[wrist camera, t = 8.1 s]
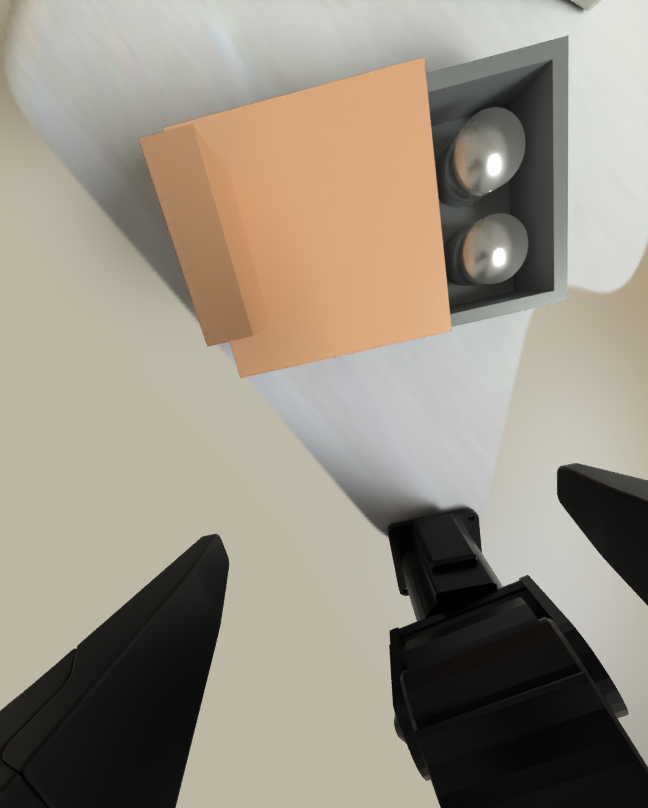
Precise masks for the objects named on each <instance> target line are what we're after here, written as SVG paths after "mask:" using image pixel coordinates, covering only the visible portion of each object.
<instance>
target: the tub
mask: <svg viewBox="0 0 648 808" xmlns="http://www.w3.org/2000/svg"><path fill="white" fill-rule="evenodd" d="M426 81H427V91H428V101H429V110H430V120H431V130H432V140H433V150H434V160H435V163H436V161H437V159H438V157H439V155H440V154H441V153H442V151H443V150H444V149H445V148H446V147H447V145H448V144H449V143H450V142H451V141H452V140H453V138H454V137H455V136H456V135H457V134H458V132H459V131H460V130H461V129H462V128H463V126H464V125H465V124H466V123H467V122H468V121H469V119H470V118H472V117H473V116H474V115H475V114H477V113H478V112H480V111H482V110H484V109H487V108H492V107H499V108H504V109H507V110H509V111H510V112H512V113H513V114H514V115H515V116H516V117H517V118H518V119H519V121H520V122H521V124H522V127H523V130H524V133H525V152H524V156H523V159H522V162H521V164H520V166H519V168H518V170H517V171H516V173H515V174H514V175H513V177H512V178H511V179H510V180H509V181H507V182H506V183H505V184H503V185H502V186H500V187H499V188H497V189H495V190H494V191H492V192H490V193H489V194H487V195H486V196H484V197H482V198H481V199H479V200H478V201H476V202H474V203H473V204H471V205H469V206H466V207H462V208H455V207H450V206H448V205H446V204H445V203H443V202H442V201H441V200H440V199H439V198H438V199H439V209H440V219H441V229H442V239H443V248H444V246H445V244H446V242H447V241H448V239H449V238H450V237H451V236H452V235H453V234H454V233H455V232H457V231H459V230H461V229H463V228H465V227H467V226H469V225H471V224H473V223H475V222H477V221H479V220H481V219H483V218H485V217H488V216H490V215H493V214H498V213H504V214H509V215H512V216H514V217H515V218H517V219H518V220H519V221H520V222H521V223H522V224H523V226H524V227H525V229H526V232H527V236H528V251H527V255H526V258H525V260H524V262H523V264H522V266H521V267H520V268H519V270H518V271H517V272H516V273H515V274H514V275H513V276H511V277H510V278H508V279H507V280H505V281H503V282H500V283H495V284H484V285H472V286H460V285H457V284H454V283H453V282H451V281H450V280H449V279H448V278H447V277H446V278H447V288H448V298H449V308H450V318H451V327H453V326H457V325H462V324H466V323H470V322H475V321H479V320H484V319H488V318H493V317H497V316H502V315H506V314H511V313H515V312H519V311H524V310H528V309H533V308H537V307H541V306H546V305H551V304H555V303H559V302H564V301H567V228H568V36H565V37H561V38H557V39H554V40H550V41H546V42H543V43H539V44H535V45H531V46H528V47H524V48H520V49H516V50H513V51H509V52H505V53H502V54H498V55H494V56H490V57H487V58H483V59H479V60H475V61H472V62H468V63H464V64H461V65H457V66H453V67H449V68H446V69H442V70H438V71H434V72H431V73H427V74H426Z"/></svg>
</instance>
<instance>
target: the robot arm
mask: <svg viewBox="0 0 648 808" xmlns="http://www.w3.org/2000/svg"><path fill="white" fill-rule="evenodd" d="M557 495H558V499H559V501H560V503H561V504H562V506H563V507H564V508H565V509H566V511H567V512H568V513H569V515H570V516H571V517H572V518H573V520H574V521H575V522H576V524H577V525H578V526H579V528H580V529H581V530H582V531H583V533H584V534H585V535H586V537H587V538H588V539H589V540H590V542H591V543H592V544H593V546H594V547H595V548H596V549H597V551H598V552H599V553H600V554H601V555H602V557H603V558H604V559H605V560H606V561H607V562H608V563H609V565H610V566H611V567H612V568H613V569H614V570H615V571H616V572H617V573H618V574H619V575H620V576H621V577H622V579H623V580H624V581H625V582H626V583H627V584H628V585H629V586H630V587H631V588H632V589H633V590H634V591H635V592H636V593H637V595H638V596H639V597H640V598H641V599H642V600H643V601H644V602H645V603H646V604H647V605H648V480H643V479H639V478H635V477H631V476H627V475H623V474H619V473H615V472H611V471H607V470H603V469H599V468H595V467H591V466H586V465H582V464H577V463H573V464H569V465H564V466H560V467H559V468H558V470H557ZM471 515H472V517H470V518H468V517H469V516H471ZM394 530H397V531H396V532H393V531H394ZM387 531H388V536H389V541H390V546H391V552H392V556H393V561H394V567H395V572H396V577H397V582H398V587H399V591H400V594H402V595H405V596H408V595H409V596H410V599H411V603H412V606H413V609H414V613H415V616H416V619H417V622H415V623H412V624H410V625H407V626H405V627H402V628H400V629H399V628H398V627H397V628H395V629H392V630H390V643H391V644H390V646H389V648H390V664H391V680H392V696H393V707H394V711H395V718H394V726H395V730H396V732H397V735H398V737H399V738H400V739H401V740H403V741H404V742H405V743H406V744H407V746H408V748H409V750H410V753H411V756H412V758H413V760H414V762H415V764H416V767H417V769H418V771H419V772H420V774H421V775H422V777H423V778H424V779H425V780H431V781H432V784H433V787H434V790H435V793H436V796H437V799H438V801H439V804H440V807H441V808H648V767H647V765H646V764H645V762H644V760H643V759H642V757H641V756H640V754H639V753H638V751H637V749H636V748H635V746H634V744H633V743H632V741H631V740H630V738H629V736H628V735H627V733H626V732H625V730H624V728H623V727H622V725H621V724H620V722H619V721H618V719H617V718H620V717H623V716H626V715H628V710H627V707H626V705H625V703H624V701H623V699H622V697H621V695H620V694H619V692H618V690H617V688H616V686H615V685H614V683H613V681H612V680H611V678H610V677H609V675H608V674H607V672H606V671H605V669H604V667H603V666H602V664H601V663H600V661H599V660H598V658H597V657H596V655H595V654H594V652H593V651H592V650H591V648H590V647H589V645H588V644H587V643H586V641H585V640H584V638H583V637H582V636H581V635H580V633H579V632H578V631H577V629H576V628H575V627H574V626H573V625H572V624H571V622H570V621H569V620H568V619H567V618H566V617H565V615H564V614H563V613H562V612H561V611H560V610H559V609H558V608H557V607H556V605H555V604H554V603H553V602H552V601H551V600H550V599H549V598H548V596H547V595H546V594H545V593H544V592H543V591H542V590H541V589H540V588H539V586H538V585H536V583H535V582H534V581H533V580H532V579H531V578H530V576H528V575H526V576H524V577H521V578H519V581H517V582H514V583H512V584H509V585H507V586H504V587H503V586H502V584H501V583H500V581H499V580H498V578H497V576H496V575H495V573H494V572H493V570H492V569H491V567H490V565H489V564H488V562H487V561H486V559H485V558H484V556H483V555H482V549H481V538H480V527H479V517H478V515H477V513H476V512H475V511H474V510H472V509H467V510H462V511H457V512H452V513H446V514H441V515H436V516H431V517H426V518H420V519H415V520H410V521H405V522H400V523H395V524H391V525H390V526H389V527H388V528H387ZM228 570H229V559H228V556H227V553H226V550H225V548H224V545H223V543H222V540H221V538H220V536H219V535H217V534H213V535H207V536H203V537H201V538H200V539H199V540H198V541H197V542H196V543H195V544H193V545H192V546H191V547H190V548H189V549H188V550H186V551H185V552H184V553H183V554H182V555H181V556H180V557H178V558H177V559H176V560H175V561H174V562H173V563H172V564H171V565H169V566H168V567H167V568H166V569H165V570H164V571H163V572H161V573H160V574H159V575H158V576H157V577H155V579H153V580H152V581H151V582H150V583H149V584H147V585H146V586H145V587H144V588H143V589H142V590H141V591H140V592H138V593H137V594H136V595H135V596H134V597H133V598H132V599H130V600H129V601H128V602H127V603H126V604H125V605H123V606H122V607H121V608H120V609H119V610H118V611H117V612H116V613H114V614H113V615H112V616H111V617H110V618H109V619H107V620H106V621H105V622H104V623H103V624H102V625H100V626H99V627H98V628H97V629H96V630H95V631H94V632H92V634H90V635H89V636H88V637H87V638H86V639H84V640H83V641H82V642H81V643H80V644H79V645H78V646H77V649H73V650H72V651H70V652H69V653H68V654H67V655H66V656H65V657H64V658H63V659H61V660H60V661H59V662H58V663H57V664H56V665H55V666H53V667H52V668H51V669H50V670H49V671H48V672H46V673H45V674H44V675H43V676H42V677H40V678H39V679H38V680H37V681H36V682H35V683H33V684H32V685H31V686H30V687H29V688H28V689H26V690H25V691H24V692H23V693H22V694H20V695H19V696H18V697H16V698H15V699H14V700H13V701H12V702H10V703H9V704H8V705H7V706H6V707H4V708H3V709H2V710H1V711H0V808H175V807H176V804H177V800H178V796H179V792H180V788H181V783H182V779H183V775H184V771H185V767H186V763H187V759H188V755H189V751H190V747H191V743H192V739H193V735H194V731H195V727H196V723H197V719H198V714H199V711H200V706H201V703H202V698H203V694H204V690H205V686H206V682H207V678H208V674H209V670H210V666H211V662H212V658H213V654H214V650H215V646H216V642H217V638H218V634H219V629H220V624H221V618H222V612H223V605H224V598H225V591H226V584H227V577H228ZM405 588H407V589H405Z"/></svg>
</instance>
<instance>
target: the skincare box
mask: <svg viewBox="0 0 648 808" xmlns="http://www.w3.org/2000/svg"><path fill="white" fill-rule="evenodd" d="M571 1H572V2H574V3H575V4H577V5H579V6H580V7H582V8H584V9H586V10H591V9H592V8H594V7H595V6H596V5H597V4H598V3H599V2H600V1H601V0H571Z"/></svg>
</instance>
